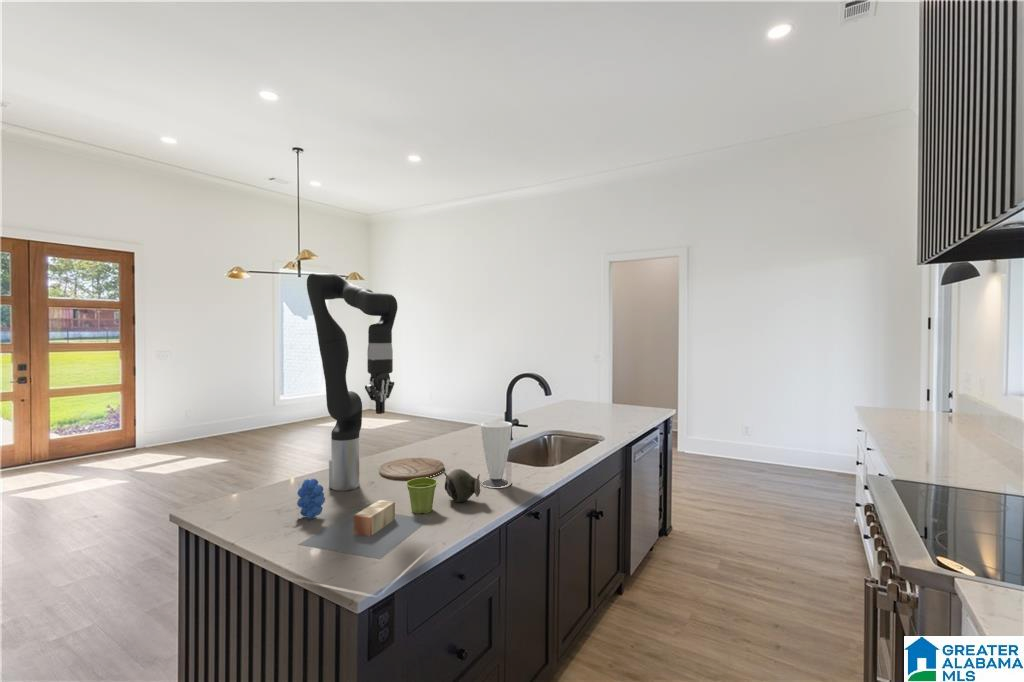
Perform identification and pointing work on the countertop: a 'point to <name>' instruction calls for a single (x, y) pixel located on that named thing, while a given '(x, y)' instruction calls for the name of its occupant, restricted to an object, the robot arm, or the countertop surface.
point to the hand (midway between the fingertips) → (380, 413)
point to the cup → (496, 450)
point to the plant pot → (421, 494)
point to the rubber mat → (374, 546)
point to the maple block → (374, 518)
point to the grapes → (311, 498)
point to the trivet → (411, 468)
